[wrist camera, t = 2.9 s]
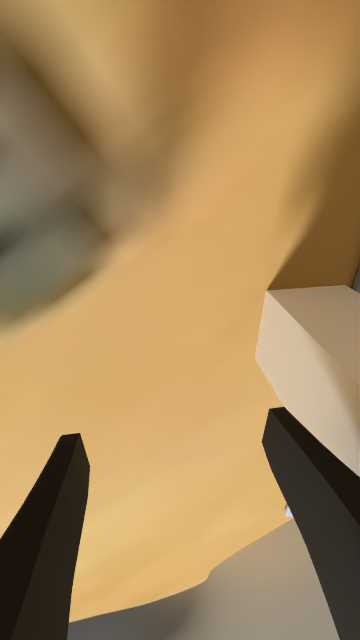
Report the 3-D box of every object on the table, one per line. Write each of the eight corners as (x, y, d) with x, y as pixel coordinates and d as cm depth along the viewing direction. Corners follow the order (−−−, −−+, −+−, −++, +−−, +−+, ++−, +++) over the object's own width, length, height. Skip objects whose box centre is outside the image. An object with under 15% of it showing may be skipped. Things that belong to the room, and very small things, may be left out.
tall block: (323, 351, 19) (474, 506, 11) (254, 358, 19) (357, 528, 10) (345, 284, 17) (565, 420, 8) (266, 290, 16) (416, 442, 8)
